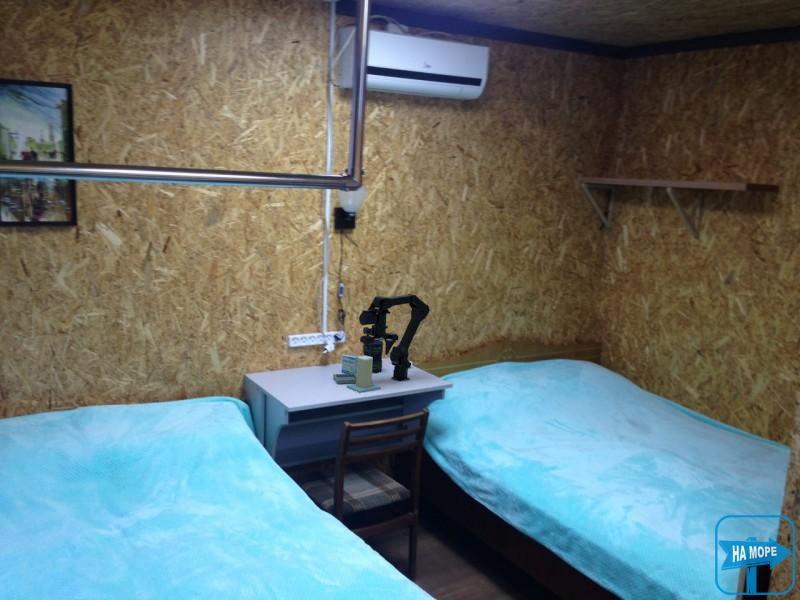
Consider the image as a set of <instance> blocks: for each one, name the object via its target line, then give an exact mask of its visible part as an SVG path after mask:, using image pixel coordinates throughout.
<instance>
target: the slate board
mask: <svg viewBox="0 0 800 600" xmlns="http://www.w3.org/2000/svg"><path fill="white" fill-rule="evenodd" d="M346 388H348V389H350V390H351V389H352V390H351V391H354V392H356V391H357V392H356V393H358V392H359V393H358V394H362V393H367V392H372V391H377V390H381V389H382V388H381V386H380V385H377V384H374V383H372V386H371V387H367V388H361V387H358V386H356V384H346ZM361 392H362V393H361Z"/></svg>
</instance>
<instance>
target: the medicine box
mask: <svg viewBox="0 0 800 600" xmlns="http://www.w3.org/2000/svg"><path fill="white" fill-rule="evenodd" d="M341 357H342V358H341V374H356V375H357V357H360V356H357V355H351V354H343V355H342V356H341Z"/></svg>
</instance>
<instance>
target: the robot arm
mask: <svg viewBox="0 0 800 600" xmlns="http://www.w3.org/2000/svg"><path fill="white" fill-rule="evenodd" d="M406 304H408V306H409V307H410V308H411V311H410V320H409V322H408V324H407V326H406V329H405V331H404V332H403V335H402V337H401V340H400V341H399V335H398V333H396V332H395V333H394V332H393V331H392V332H387V329H388V328H389V326H388V325H387V315H389V314H391V311H390V310H389V309H392V307H395V306H400V305H406ZM430 311H431V309H430V306H429V305H428V304H426V303H425V302H424V301H423V300H422V299H420V298H419V297H418V296H417V295H416V294H413V293H407V294H402V295H395V296H382V295H377V296H374V298H373V299H372V302H371V304H370V305H369V306H368V308H367V310H363V309H362V311H361V313H360V314H359V316H358V321H359V323H360V325H361V326H365V327H363V328H362V332H363V334H364V335H361V336H360V338H359V342H360V343H362V345H364V344H365V345H366V347H367V349H368V353H369V356H370V357H372V355H373V349H374V344H373V342H374V341H376V340H380V341H383V342H384V343H385V349H384V350H385V353H384V354H385V356H388V355H389V354H390V355H389V360H390V362H391V365H392V366H393V373H392V375H393V376H391V379H393V380H397V381H398V382H401V381H407V380H410V377H408V376H409V375H408V374H409V373H408V372H409V369H411V367H412V362H410V360H409V359H408V358H409V356H410V355H409V353H410V352H409V348H410V346H411V344H412V341H413V339H414V337H415V335H416V333H417V331H418V328H419V326H420V325H421V323H422V322H423V321H424V320H426V318H427V316H428V315H430ZM370 325H371V327H369V326H370ZM397 341H399V344H398V345H397V346H393V345H395V343H397Z"/></svg>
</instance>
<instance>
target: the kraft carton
mask: <svg viewBox="0 0 800 600" xmlns="http://www.w3.org/2000/svg"><path fill="white" fill-rule="evenodd" d="M372 363H373V357H369V356H364V355H360V356H359V357H357V374H356V386H358V387H361V388H367V387H371V386H372V384H373V383H372V382H373V373H372Z"/></svg>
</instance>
